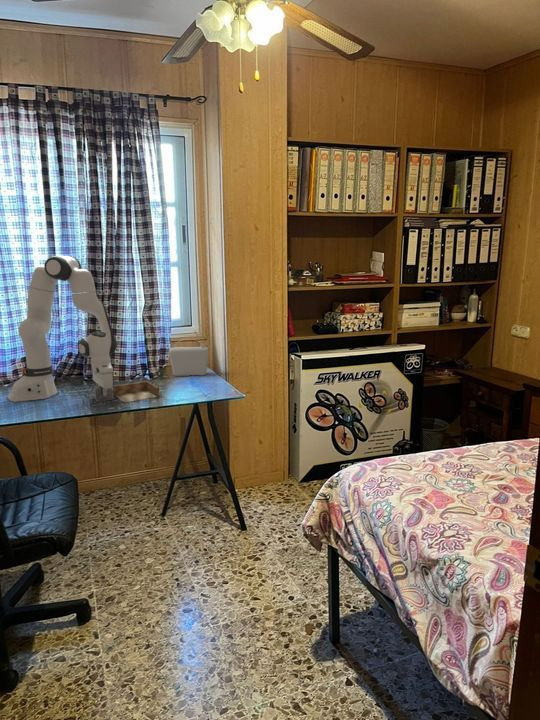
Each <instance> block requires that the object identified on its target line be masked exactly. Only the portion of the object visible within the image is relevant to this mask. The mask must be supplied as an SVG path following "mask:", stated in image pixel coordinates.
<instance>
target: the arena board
mask: <svg viewBox="0 0 540 720" xmlns="http://www.w3.org/2000/svg"><path fill="white" fill-rule="evenodd" d="M115 397H116V398H117V399H118V400H120V401H121V402H122V403H123V404H125V403H126V404H127V403H132V402H137V401H138V402H139V401H142V400H149V399H155V398H157V397H156V396H155V395H153V394H152V393H150V392H148V391H141V392H135V393H129V394H122V395H116V396H115Z"/></svg>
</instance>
